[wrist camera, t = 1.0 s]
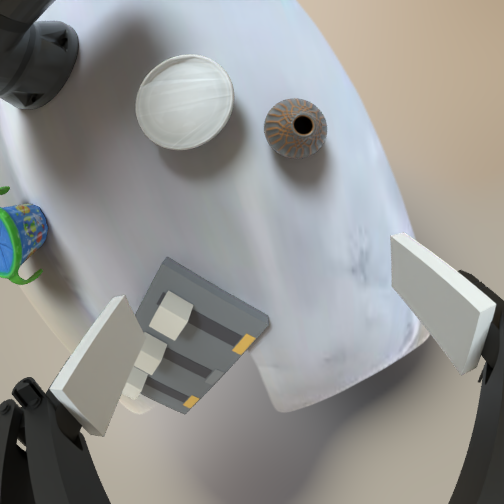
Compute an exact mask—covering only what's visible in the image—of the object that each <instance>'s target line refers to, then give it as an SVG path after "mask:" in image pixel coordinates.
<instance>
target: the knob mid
mask: <svg viewBox="0 0 504 504" xmlns="http://www.w3.org/2000/svg"><path fill="white" fill-rule="evenodd" d="M144 334H145V336H146V340H145V342H144V344H143V346H142V349H141V351H140V353H139V355H138V357H137V359H136V362H135V364H134V366H135V367H137V368H139V369H141V370H143V371H144V372H146V373H148V374H150V375H152V374H153V373H154V371H155V370H156V368H157V367H158V365H159V364H160V362H161V360H162V358H163V355H164V352H165V350H166V347H167V344H166V343H164V342H162V341H160V340H159V339H157V338H155V337H153V336H152V335H150V334H148V333H146V332H144Z"/></svg>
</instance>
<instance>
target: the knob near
mask: <svg viewBox="0 0 504 504" xmlns="http://www.w3.org/2000/svg"><path fill="white" fill-rule="evenodd" d="M192 308H193V304H191V303H189V302H187V301H186V300H184V299H182V298H181V297H179V296H177V295H175V294H174V293H172V292H170V291H169V290H168V292H167V293H166V295H165V297H164V299H163V300H162V302H161V304H160V306H159V307H158V309H157V311H156V313H155V315H154V317H153V319H152V321H151V323H150V325H149V327H151V328H153V329H155V330H156V331H158V332H160V333H162V334H163V335H165V336H167V337H169V338H170V339H172V340H174V341H175V340H176V338H177V337H178V335H179V334H180V332H181V331H182V330H183V328H184V327H185V325H186V324H187V322H188V320H189V317H190V314H191V311H192Z"/></svg>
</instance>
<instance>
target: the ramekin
mask: <svg viewBox="0 0 504 504" xmlns="http://www.w3.org/2000/svg"><path fill="white" fill-rule="evenodd" d="M233 105H234V89H233V84H232V82H231V79H230V77H229V75H228V74H227V72H226V71H225V70H224V68H223V67H222V66H220V65H219V64H218V63H217V62H215V61H214V60H212V59H210V58H207V57H204V56H201V55H193V54H187V55H179V56H175V57H172V58H169V59H167V60H165V61H163V62H162V63H160V64H159V65H157V66H156V67H155V68H154V69H152V70H151V71H150V72H149V74H148V75H147V76H146V77H145V79H144V80H143V82H142V84H141V86H140V88H139V90H138V93H137V97H136V104H135V110H136V117H137V121H138V123H139V126H140V128H141V129H142V131H143V132H144V134H145V135H146V136H147V137H148V138H149V139H150V140H151V141H152V142H154V143H155V144H157V145H159V146H161V147H163V148H166V149H171V150H188V149H192V148H196V147H198V146H201V145H203V144H205V143H207V142H208V141H210V140H211V139H213V138H214V137H215V136H216V135H217V134H218V133H219V132H220V131H221V130H222V129H223V128H224V126H225V125H226V123H227V122H228V120H229V118H230V116H231V113H232V110H233Z"/></svg>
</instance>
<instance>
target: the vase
mask: <svg viewBox="0 0 504 504" xmlns="http://www.w3.org/2000/svg"><path fill="white" fill-rule="evenodd" d="M264 133H265V137H266V139H267V142H268V143H269V145H270V146H271V147H272V148H273V149H274V150H275V151H276V152H277V153H279V154H280V155H282V156H285V157H288V158H293V159H300V158H305V157H308V156H311V155H312V154H314V153H315V152H317V151H318V150H319V149H320V148H321V146H322V145H323V143H324V141H325V139H326V135H327V124H326V120H325V118H324V115H323V114H322V112H321V111H320V110H319V109H318V108H317V107H316V106H315V105H314V104H312V103H310V102H308V101H306V100H303V99H287V100H283V101H281V102H279V103H277V104H276V105H275V106H274V107H273V108H272V109H271V110H270V111H269V112H268V114H267V116H266V119H265V123H264Z"/></svg>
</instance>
